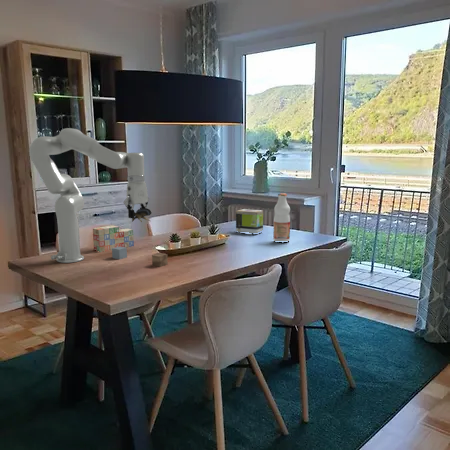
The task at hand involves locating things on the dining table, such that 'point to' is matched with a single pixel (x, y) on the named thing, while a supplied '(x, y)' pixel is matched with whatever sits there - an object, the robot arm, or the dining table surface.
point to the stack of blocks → (112, 238)
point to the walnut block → (159, 259)
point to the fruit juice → (281, 219)
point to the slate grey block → (119, 252)
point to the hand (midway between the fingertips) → (137, 216)
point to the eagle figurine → (141, 214)
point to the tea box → (249, 221)
